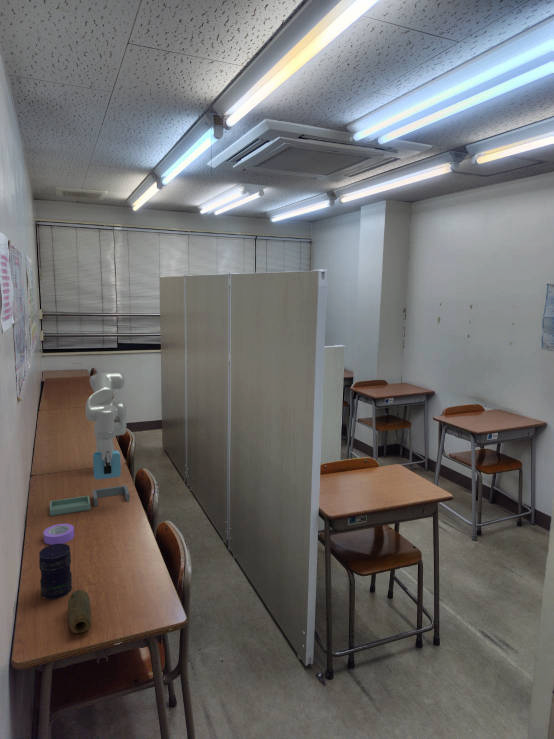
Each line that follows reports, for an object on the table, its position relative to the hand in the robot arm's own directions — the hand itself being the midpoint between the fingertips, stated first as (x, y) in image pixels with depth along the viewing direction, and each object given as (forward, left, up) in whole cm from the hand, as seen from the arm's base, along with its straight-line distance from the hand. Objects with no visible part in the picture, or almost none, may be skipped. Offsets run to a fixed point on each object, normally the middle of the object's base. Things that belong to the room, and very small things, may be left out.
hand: (107, 471), depth 224 cm
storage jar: (+60, -23, -19) cm, 67 cm away
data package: (0, 0, -3) cm, 3 cm away
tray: (-7, -17, -19) cm, 26 cm away
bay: (-11, +2, -19) cm, 22 cm away
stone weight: (+80, -16, -19) cm, 83 cm away
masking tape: (+21, -22, -19) cm, 36 cm away
